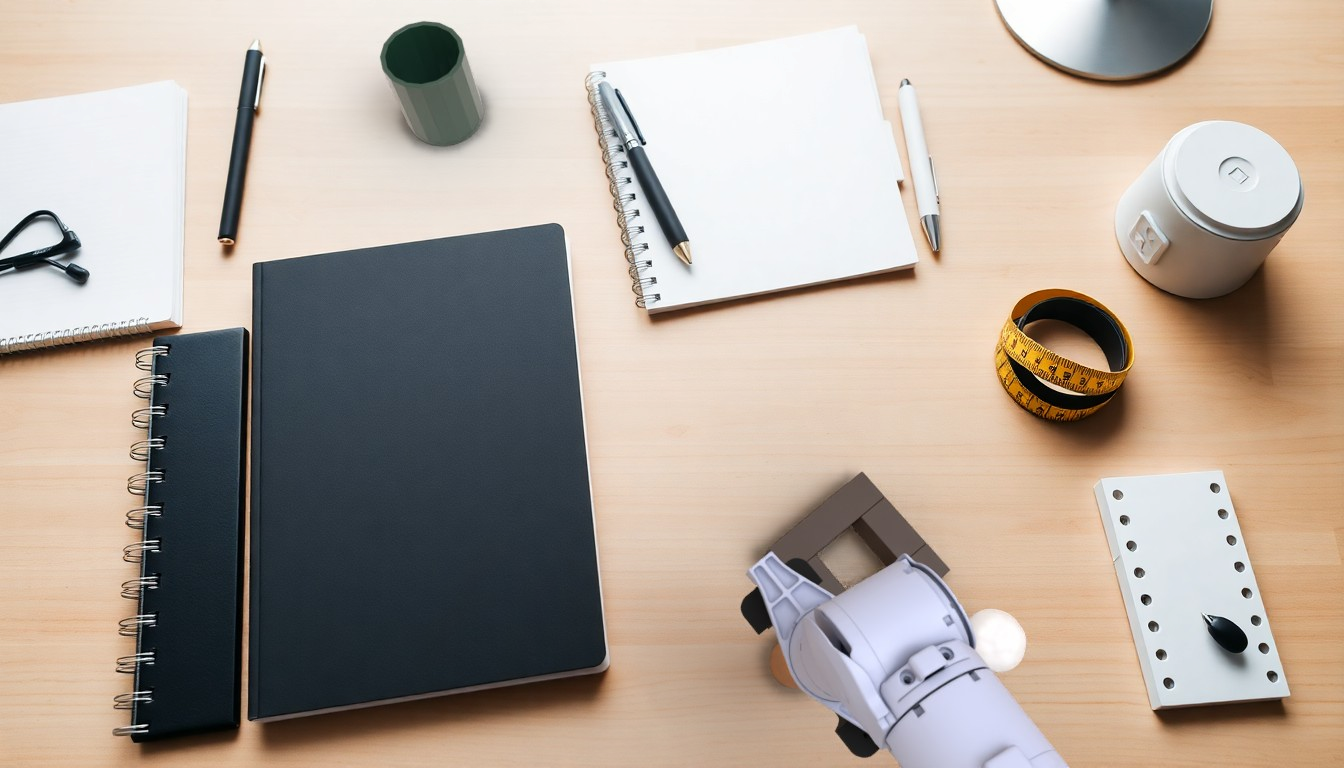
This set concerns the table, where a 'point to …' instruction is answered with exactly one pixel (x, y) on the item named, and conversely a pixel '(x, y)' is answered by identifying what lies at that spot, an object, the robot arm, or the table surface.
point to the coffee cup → (433, 82)
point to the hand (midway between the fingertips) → (811, 658)
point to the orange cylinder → (781, 668)
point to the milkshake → (998, 639)
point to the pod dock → (870, 521)
